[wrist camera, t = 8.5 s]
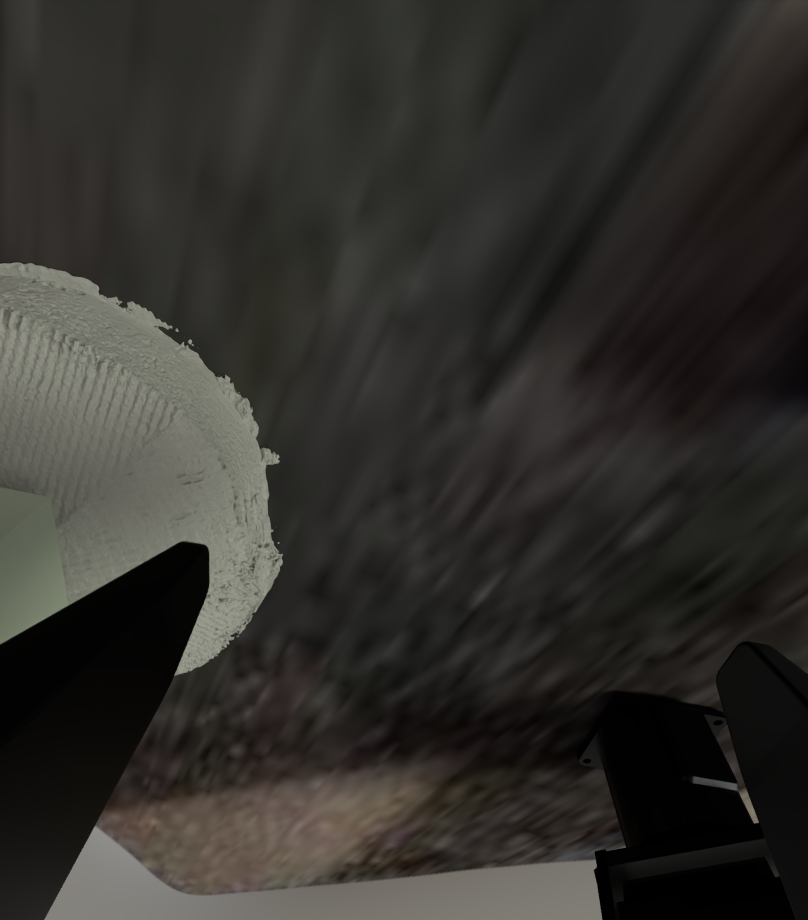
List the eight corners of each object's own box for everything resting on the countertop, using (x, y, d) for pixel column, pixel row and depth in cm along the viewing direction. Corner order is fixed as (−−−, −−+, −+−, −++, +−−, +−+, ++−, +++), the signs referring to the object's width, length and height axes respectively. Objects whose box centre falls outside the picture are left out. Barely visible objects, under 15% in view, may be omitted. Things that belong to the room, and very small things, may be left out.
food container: (-239, 303, 21) (-512, 357, 15) (217, 225, 18) (106, 254, 12) (17, 639, 30) (-86, 753, 24) (338, 622, 28) (309, 745, 22)
